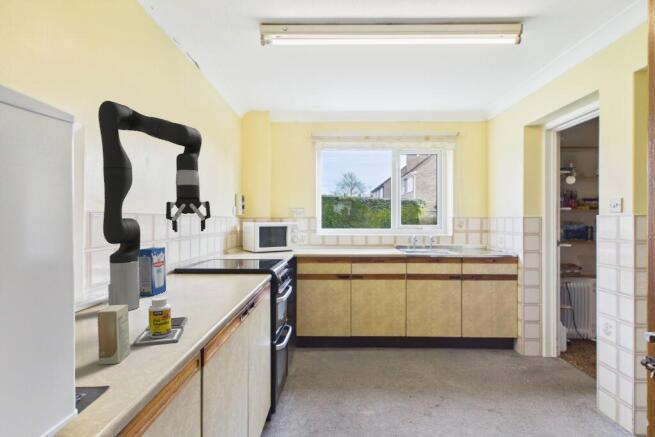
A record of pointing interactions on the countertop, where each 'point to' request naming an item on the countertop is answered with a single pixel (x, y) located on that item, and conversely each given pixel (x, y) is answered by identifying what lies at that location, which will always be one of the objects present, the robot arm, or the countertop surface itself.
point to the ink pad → (176, 323)
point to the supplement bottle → (159, 318)
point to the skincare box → (113, 334)
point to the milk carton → (152, 271)
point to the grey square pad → (147, 340)
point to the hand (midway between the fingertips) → (189, 231)
